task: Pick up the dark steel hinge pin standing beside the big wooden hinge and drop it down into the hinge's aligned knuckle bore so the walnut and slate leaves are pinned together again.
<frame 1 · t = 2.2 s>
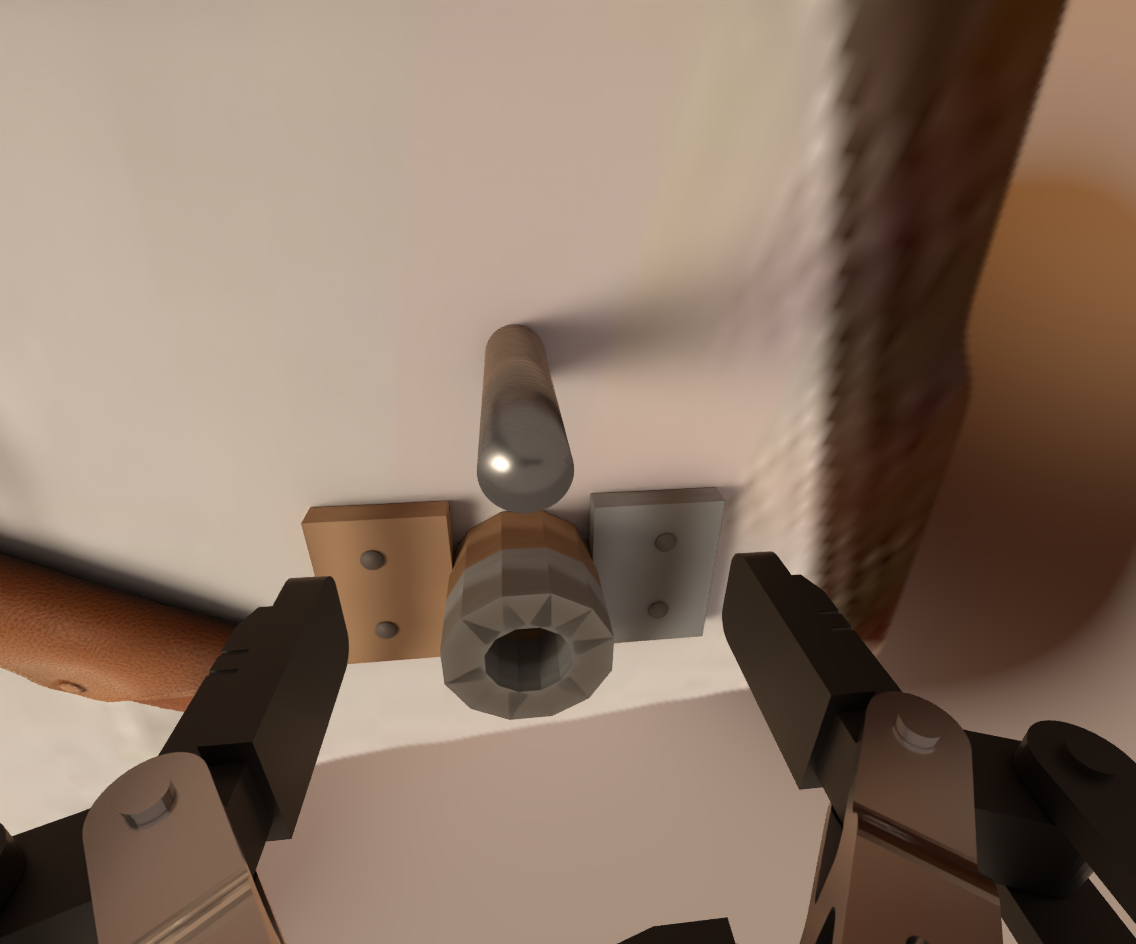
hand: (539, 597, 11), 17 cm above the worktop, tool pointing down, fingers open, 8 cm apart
hinge leaves: (523, 569, 33), on the worktop
sunglasses case: (118, 622, 32), on the worktop
hinge pin: (514, 354, 26), on the worktop
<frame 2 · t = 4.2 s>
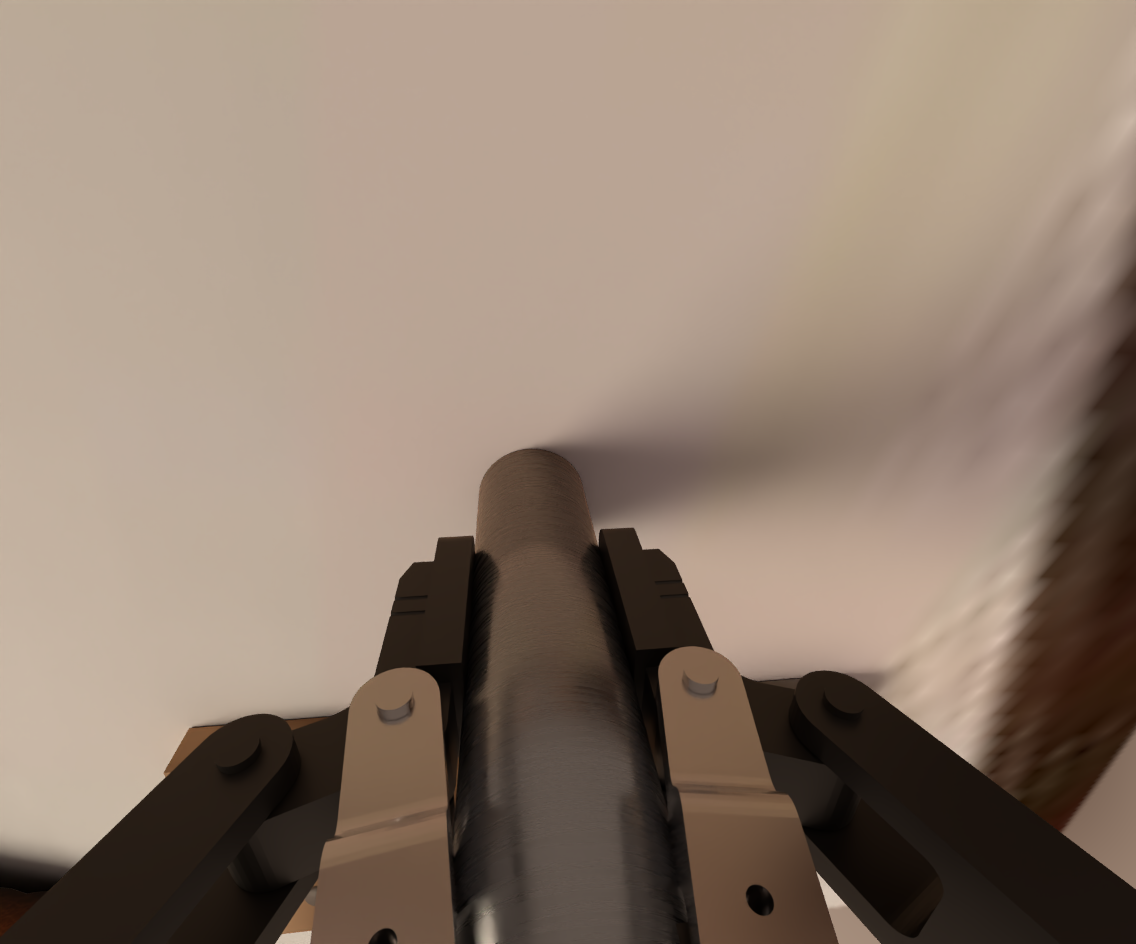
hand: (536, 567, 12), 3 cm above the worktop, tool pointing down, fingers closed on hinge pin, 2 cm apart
hinge leaves: (539, 790, 21), on the worktop
hinge pin: (531, 495, 15), on the worktop, touching gripper
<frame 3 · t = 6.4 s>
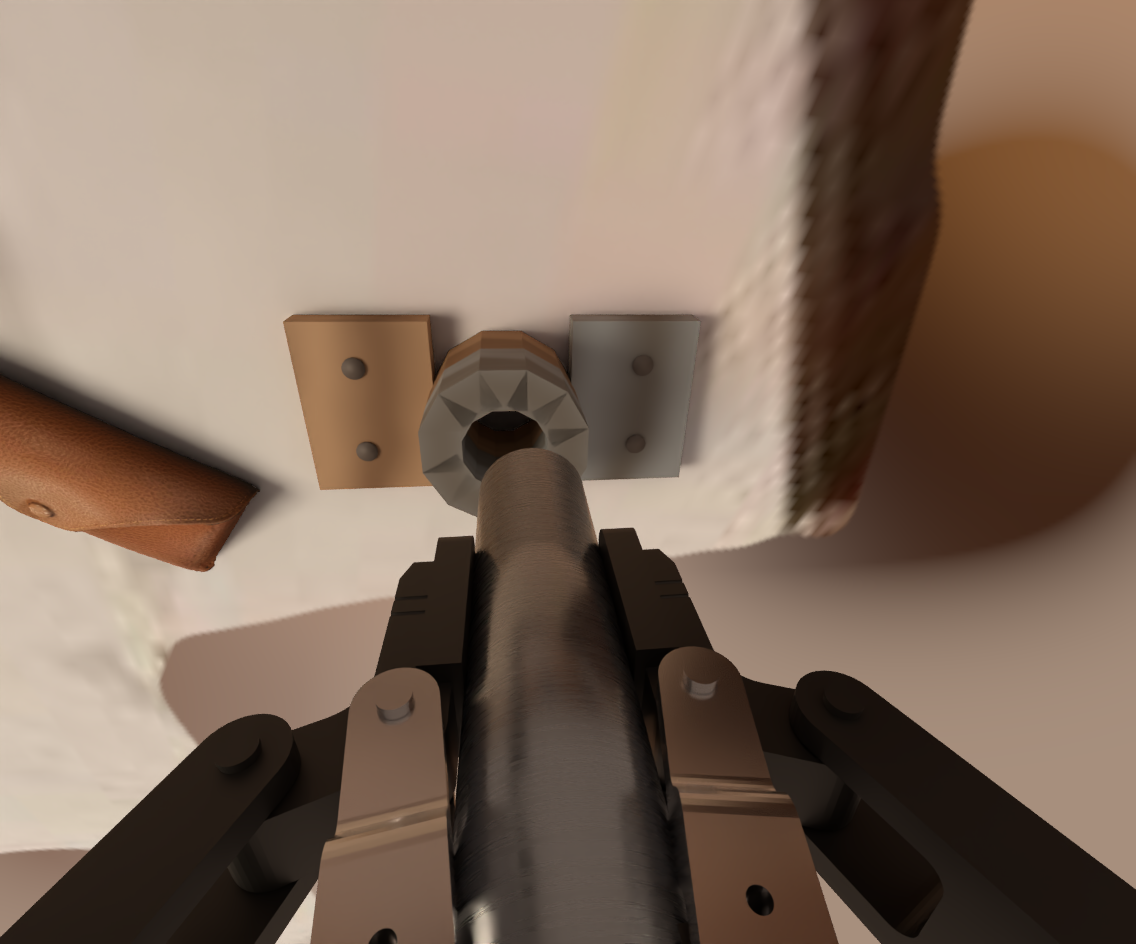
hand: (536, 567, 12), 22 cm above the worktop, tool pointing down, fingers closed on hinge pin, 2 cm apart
hinge leaves: (503, 399, 33), on the worktop
sunglasses case: (90, 460, 33), on the worktop
hinge pin: (531, 494, 15), point 19 cm above the worktop, touching gripper
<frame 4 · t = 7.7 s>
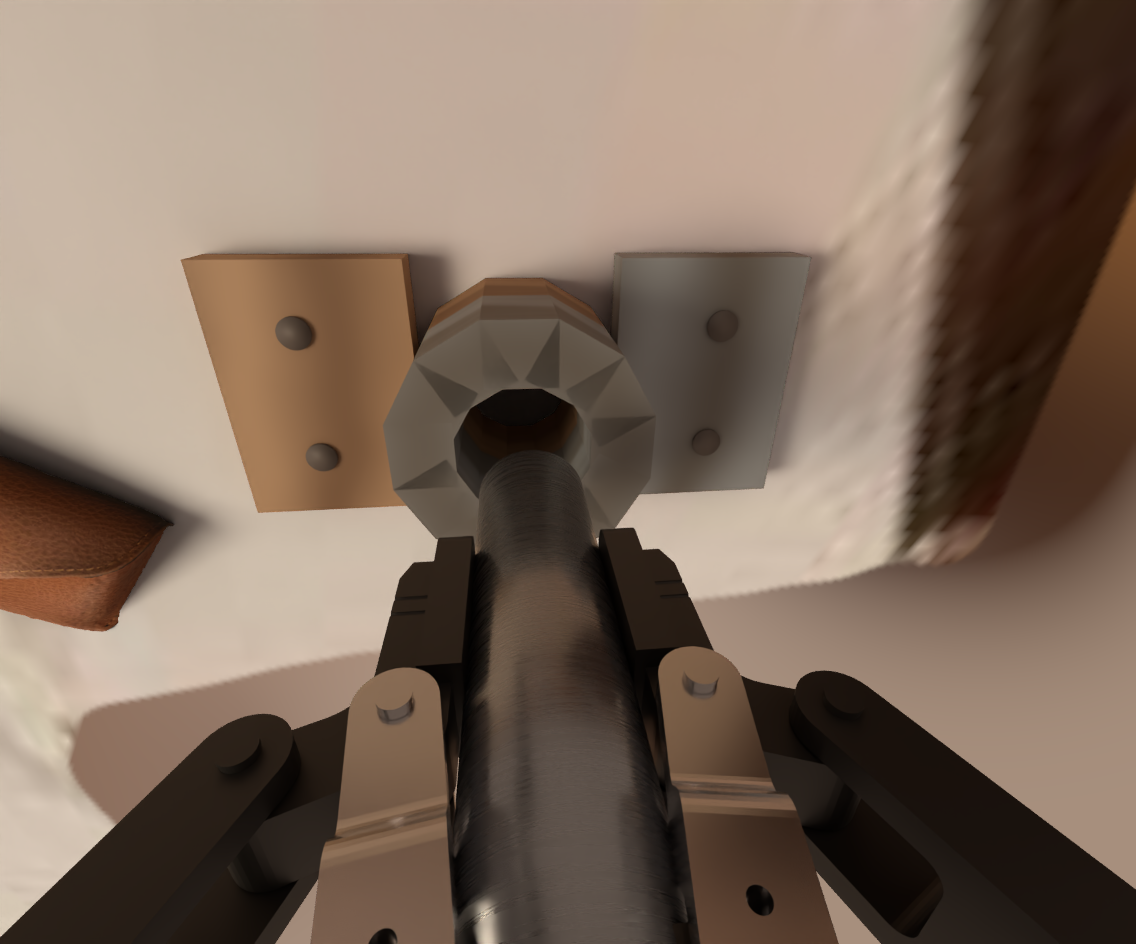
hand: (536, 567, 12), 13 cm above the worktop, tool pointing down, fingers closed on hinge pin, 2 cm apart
hinge leaves: (517, 380, 23), on the worktop
hinge pin: (531, 496, 15), point 10 cm above the worktop, touching gripper
when the fingers open (9 cm above the worktop, at t = 8.7 s): hinge pin drops 5 cm, resting in hinge leaves.
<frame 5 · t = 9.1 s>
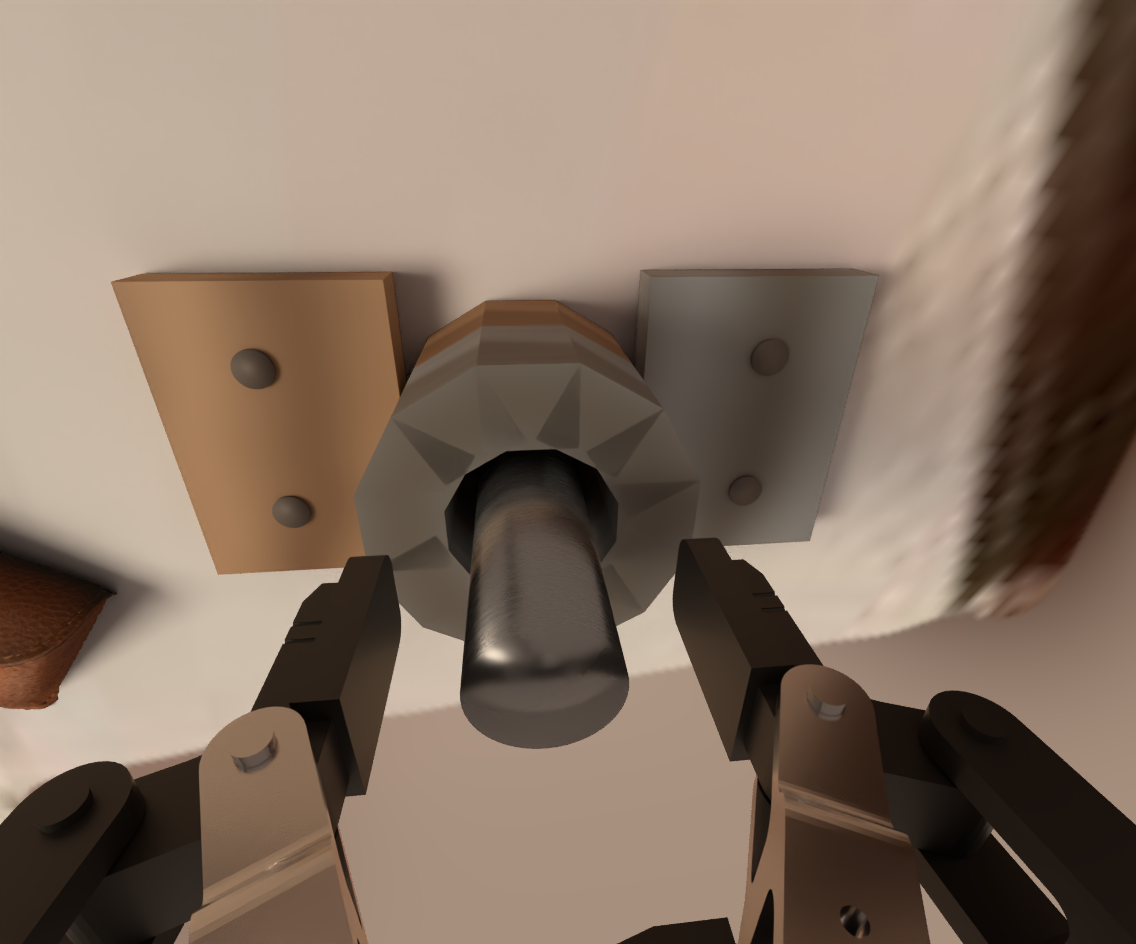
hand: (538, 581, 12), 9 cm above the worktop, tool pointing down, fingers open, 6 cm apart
hinge leaves: (523, 418, 20), on the worktop
hinge pin: (523, 418, 20), resting in hinge leaves
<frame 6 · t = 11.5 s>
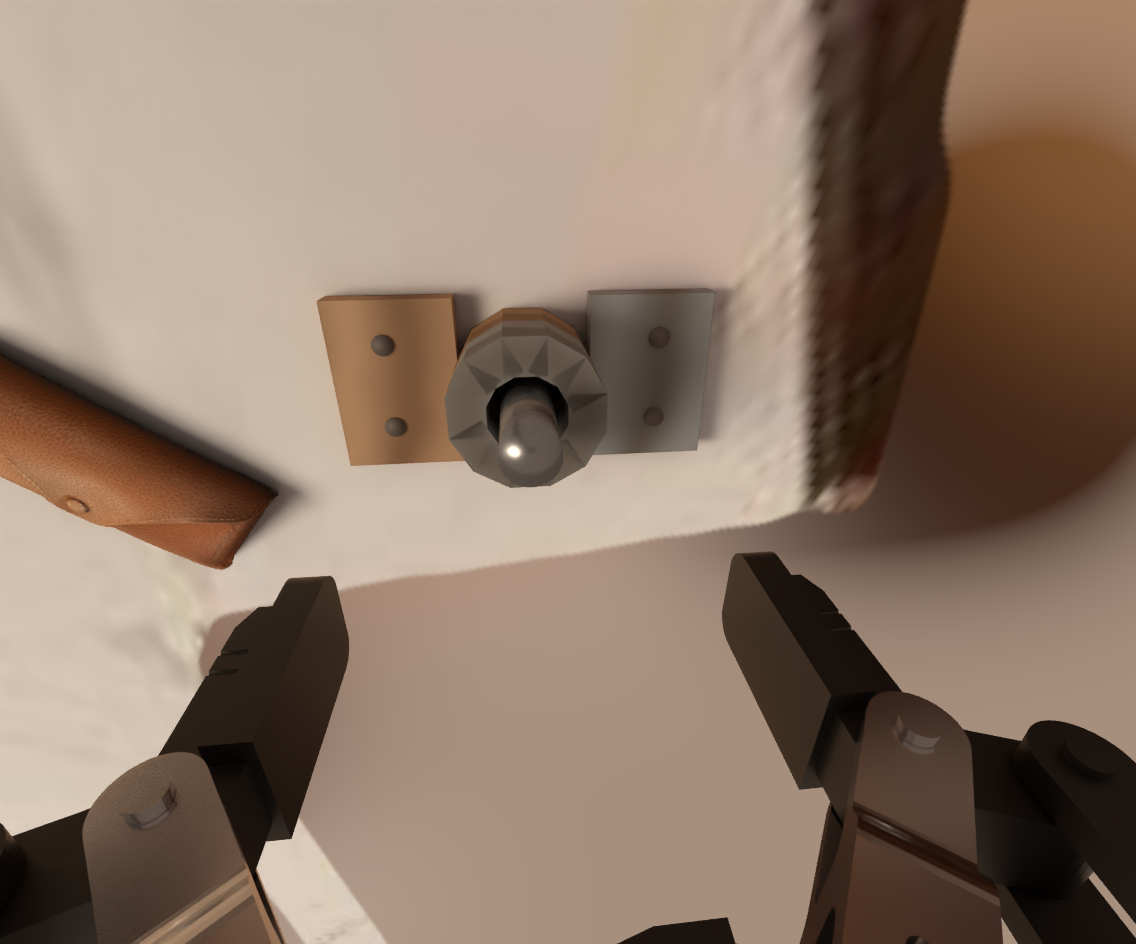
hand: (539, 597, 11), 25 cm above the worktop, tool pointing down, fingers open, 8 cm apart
hinge leaves: (524, 375, 34), on the worktop
sunglasses case: (123, 461, 35), on the worktop
hinge pin: (524, 375, 34), resting in hinge leaves
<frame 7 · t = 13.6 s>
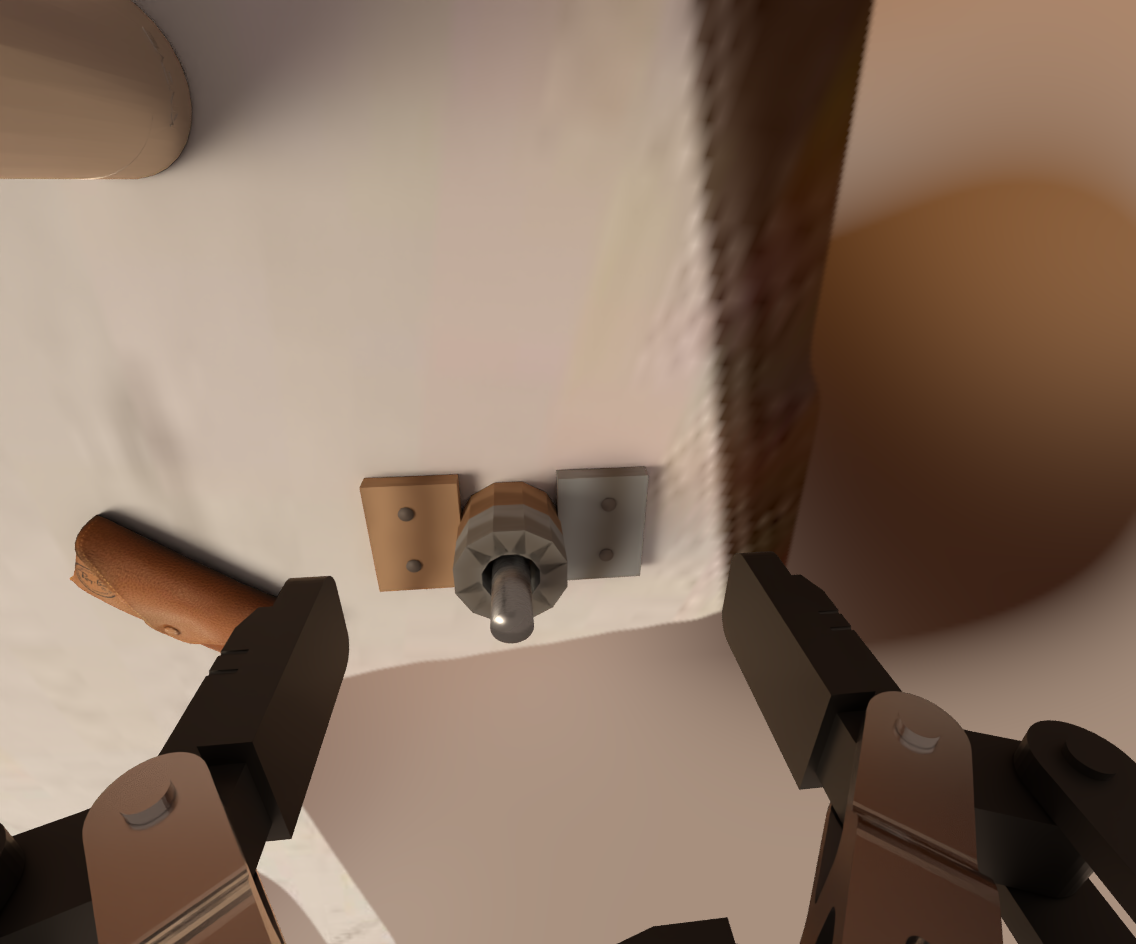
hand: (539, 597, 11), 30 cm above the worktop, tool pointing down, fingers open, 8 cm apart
hinge leaves: (510, 525, 46), on the worktop
sunglasses case: (201, 590, 47), on the worktop
hinge pin: (510, 524, 46), resting in hinge leaves
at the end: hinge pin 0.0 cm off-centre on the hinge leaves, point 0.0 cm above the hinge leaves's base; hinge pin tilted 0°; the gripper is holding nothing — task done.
